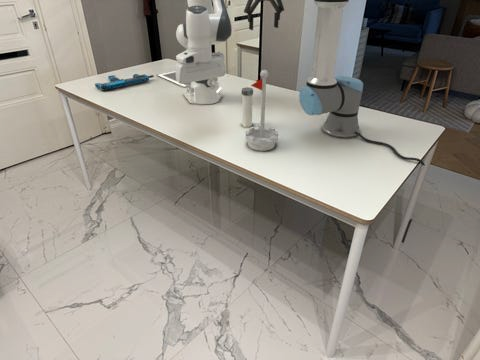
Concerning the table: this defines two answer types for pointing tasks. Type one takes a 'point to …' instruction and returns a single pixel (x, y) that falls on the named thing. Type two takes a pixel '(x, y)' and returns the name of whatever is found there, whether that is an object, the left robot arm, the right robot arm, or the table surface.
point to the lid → (247, 91)
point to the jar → (246, 111)
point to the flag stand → (262, 123)
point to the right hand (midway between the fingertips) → (263, 28)
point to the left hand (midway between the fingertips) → (202, 90)
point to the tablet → (171, 78)
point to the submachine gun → (122, 81)
